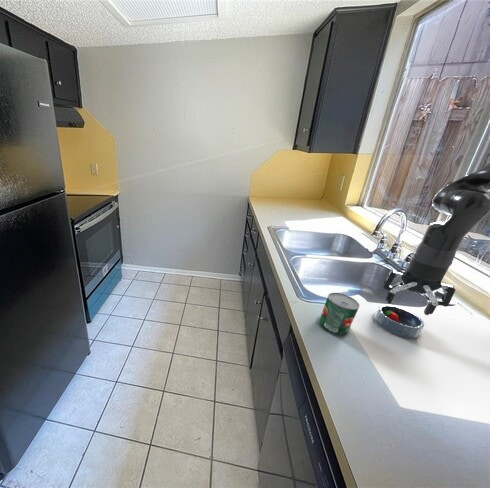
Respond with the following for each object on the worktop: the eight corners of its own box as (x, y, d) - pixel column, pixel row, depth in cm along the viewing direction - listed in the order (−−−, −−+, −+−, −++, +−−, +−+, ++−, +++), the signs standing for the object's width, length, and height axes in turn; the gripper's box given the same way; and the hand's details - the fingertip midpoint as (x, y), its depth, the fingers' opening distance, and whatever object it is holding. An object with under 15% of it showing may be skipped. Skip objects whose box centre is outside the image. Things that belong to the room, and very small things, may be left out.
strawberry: (400, 318, 83) (392, 307, 82) (403, 325, 80) (395, 314, 80) (387, 321, 85) (379, 311, 85) (390, 328, 82) (382, 317, 82)
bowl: (414, 327, 82) (422, 314, 80) (418, 347, 74) (426, 333, 72) (373, 312, 88) (379, 300, 86) (372, 329, 80) (378, 316, 78)
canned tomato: (315, 317, 84) (326, 289, 80) (343, 324, 82) (355, 296, 77) (319, 333, 78) (330, 304, 73) (349, 342, 75) (363, 312, 71)
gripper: (464, 263, 70) (436, 311, 76) (397, 248, 78) (377, 293, 84) (471, 274, 64) (441, 324, 71) (398, 257, 72) (377, 304, 79)
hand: (406, 307), depth 78 cm, fingers open, 8 cm apart
